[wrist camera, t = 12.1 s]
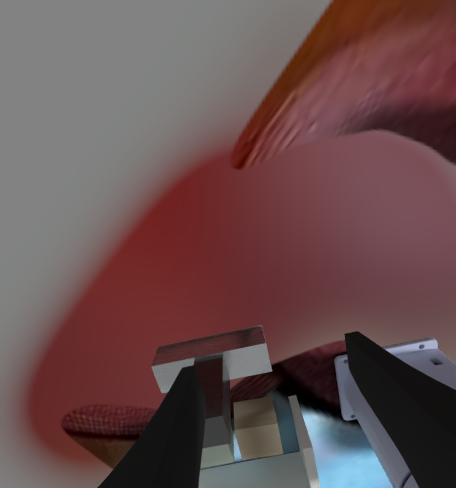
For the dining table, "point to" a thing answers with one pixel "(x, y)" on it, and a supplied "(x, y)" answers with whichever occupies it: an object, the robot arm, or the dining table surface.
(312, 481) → the corral
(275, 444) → the chip
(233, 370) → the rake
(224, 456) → the pale green block
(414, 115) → the dining table surface
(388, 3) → the dining table surface
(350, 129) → the dining table surface
